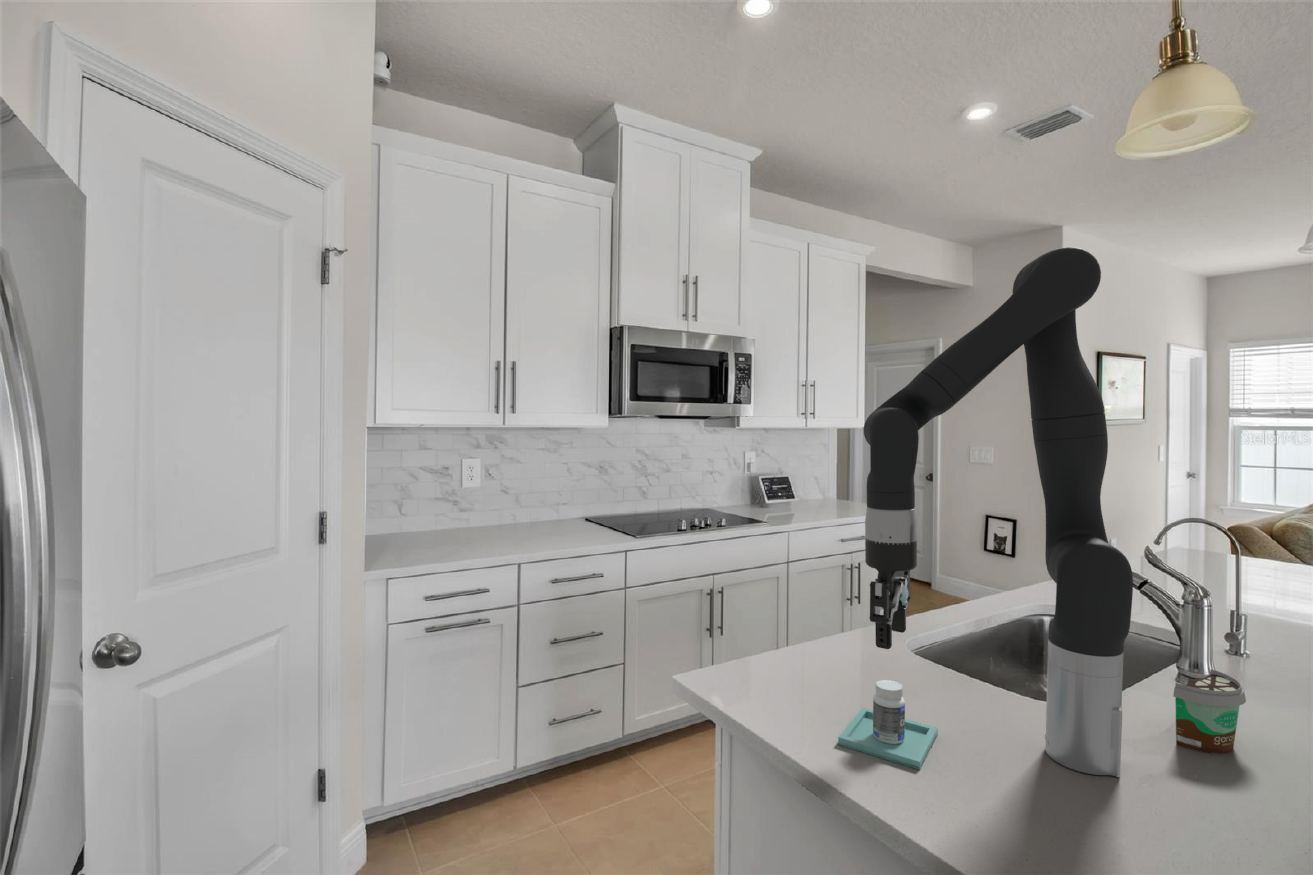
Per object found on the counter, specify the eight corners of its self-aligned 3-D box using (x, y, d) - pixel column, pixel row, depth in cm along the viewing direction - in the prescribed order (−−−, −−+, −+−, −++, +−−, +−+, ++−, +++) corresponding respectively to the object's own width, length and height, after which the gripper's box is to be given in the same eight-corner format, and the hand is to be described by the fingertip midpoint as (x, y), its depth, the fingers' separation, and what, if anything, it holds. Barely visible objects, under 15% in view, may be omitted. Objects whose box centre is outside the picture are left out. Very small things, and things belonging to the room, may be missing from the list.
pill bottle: (907, 746, 97) (907, 692, 97) (874, 743, 98) (875, 690, 98) (901, 731, 102) (902, 679, 101) (871, 728, 103) (871, 677, 102)
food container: (1221, 766, 92) (1224, 699, 92) (1171, 746, 98) (1173, 683, 97) (1258, 746, 98) (1261, 682, 97) (1209, 728, 103) (1212, 668, 103)
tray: (937, 735, 101) (937, 727, 101) (919, 770, 91) (920, 761, 91) (862, 714, 108) (862, 707, 108) (838, 744, 98) (838, 737, 98)
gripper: (904, 547, 90) (905, 659, 91) (926, 530, 102) (927, 630, 103) (851, 542, 95) (852, 649, 95) (878, 526, 106) (879, 622, 107)
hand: (891, 639), depth 99 cm, fingers open, 8 cm apart
